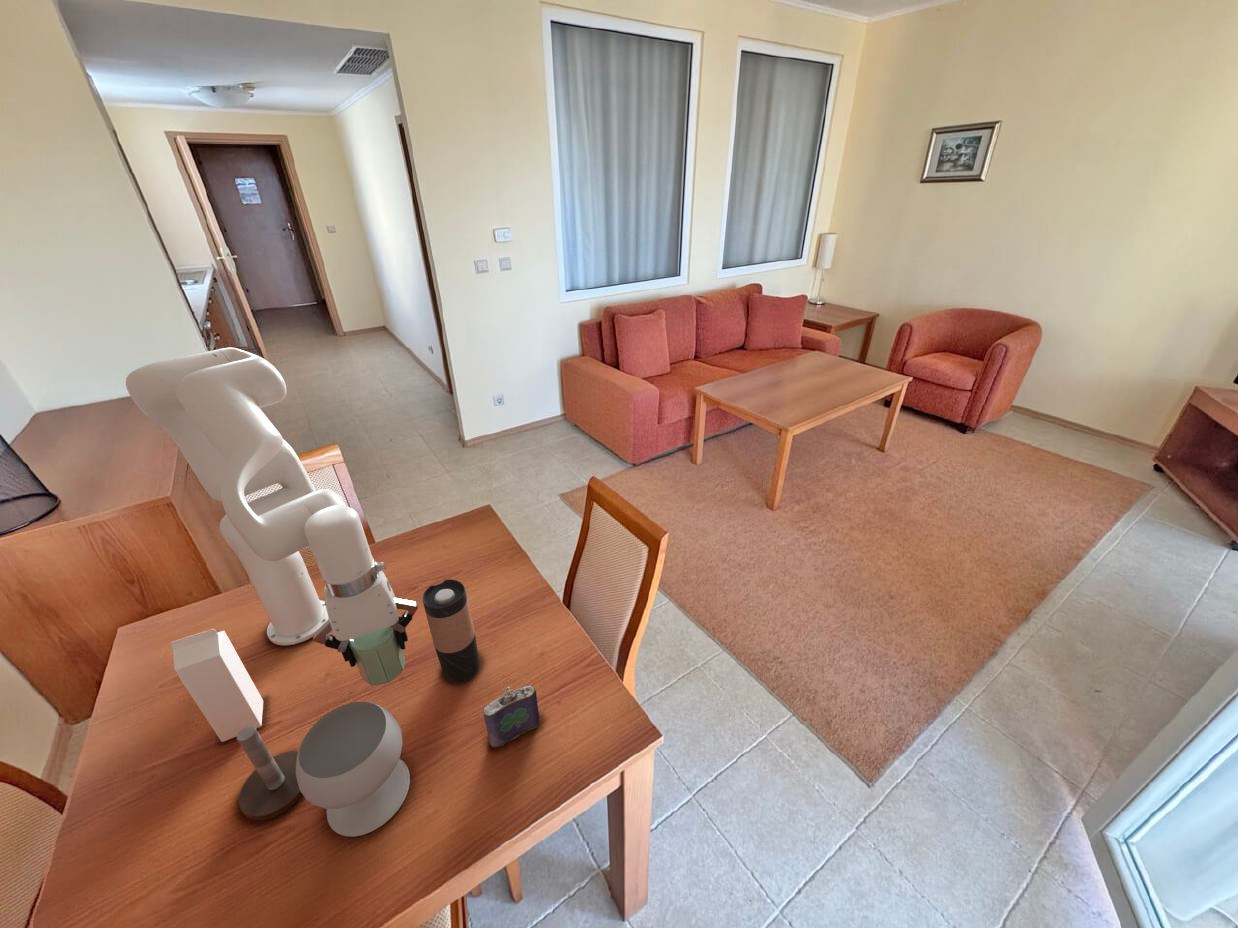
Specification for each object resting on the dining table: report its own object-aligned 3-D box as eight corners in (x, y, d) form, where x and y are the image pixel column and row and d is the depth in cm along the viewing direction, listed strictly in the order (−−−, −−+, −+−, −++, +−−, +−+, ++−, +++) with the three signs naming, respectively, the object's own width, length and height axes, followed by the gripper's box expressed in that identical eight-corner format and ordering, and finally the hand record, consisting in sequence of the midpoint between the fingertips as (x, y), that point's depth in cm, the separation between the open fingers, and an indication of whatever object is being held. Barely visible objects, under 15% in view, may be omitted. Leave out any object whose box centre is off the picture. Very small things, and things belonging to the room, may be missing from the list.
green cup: (355, 672, 90) (341, 638, 86) (390, 646, 96) (378, 612, 91) (378, 691, 87) (364, 656, 83) (412, 663, 92) (401, 628, 88)
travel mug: (470, 686, 96) (452, 611, 86) (434, 680, 97) (413, 605, 88) (487, 655, 102) (472, 581, 93) (453, 649, 104) (435, 576, 94)
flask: (492, 751, 85) (483, 711, 80) (487, 736, 87) (478, 697, 82) (542, 724, 89) (537, 685, 84) (536, 712, 91) (530, 672, 86)
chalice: (413, 827, 75) (390, 770, 67) (310, 858, 71) (274, 802, 64) (418, 740, 86) (399, 684, 79) (330, 764, 83) (302, 707, 76)
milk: (261, 726, 89) (212, 641, 78) (221, 743, 87) (164, 657, 76) (263, 700, 94) (217, 616, 83) (225, 715, 91) (172, 630, 80)
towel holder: (246, 771, 82) (212, 718, 75) (314, 745, 86) (287, 692, 79) (236, 832, 74) (196, 780, 68) (311, 801, 78) (281, 747, 71)
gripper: (405, 549, 87) (426, 621, 96) (292, 579, 81) (325, 654, 89) (410, 574, 81) (431, 649, 90) (288, 610, 75) (323, 687, 83)
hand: (378, 651), depth 89 cm, fingers closed on green cup, 7 cm apart
